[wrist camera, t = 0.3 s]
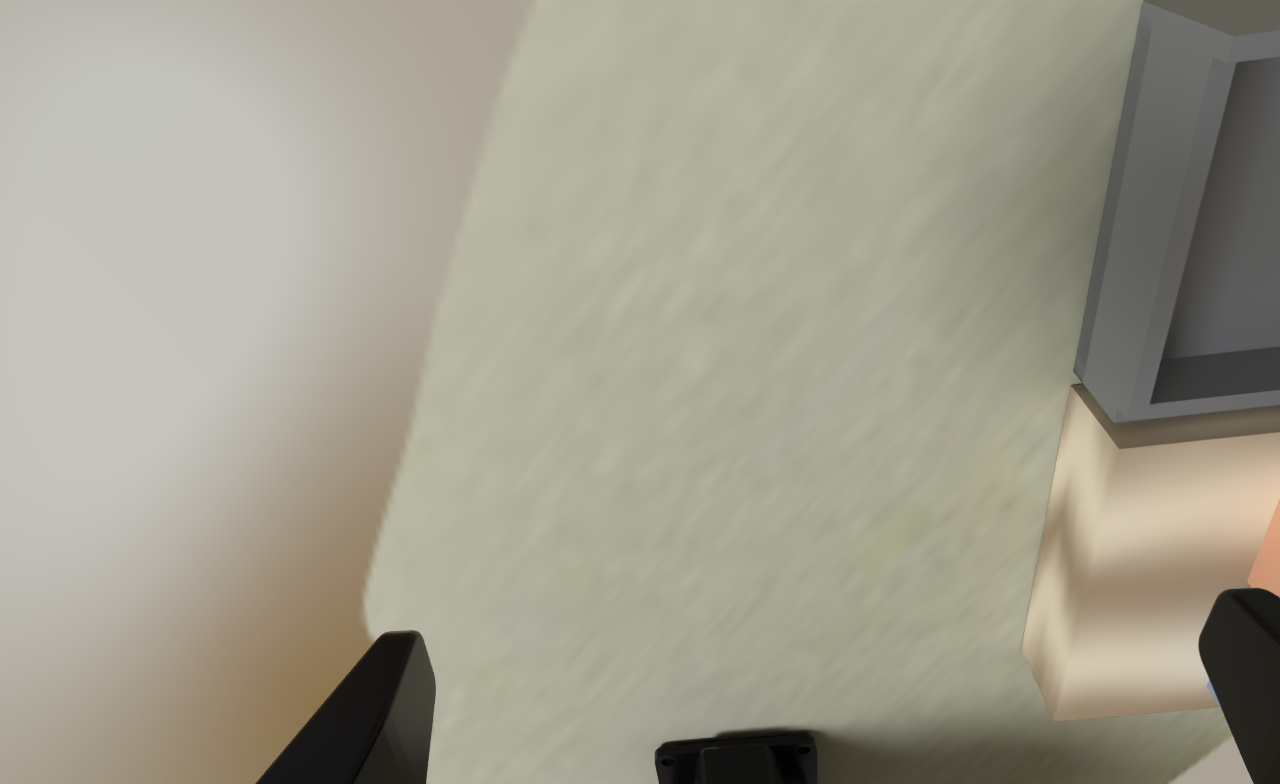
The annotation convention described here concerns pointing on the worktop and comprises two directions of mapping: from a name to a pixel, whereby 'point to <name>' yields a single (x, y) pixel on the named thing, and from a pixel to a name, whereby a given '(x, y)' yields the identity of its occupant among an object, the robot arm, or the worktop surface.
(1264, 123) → the charcoal tray
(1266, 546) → the terracotta tile
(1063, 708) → the birch board
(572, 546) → the worktop surface
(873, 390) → the worktop surface
